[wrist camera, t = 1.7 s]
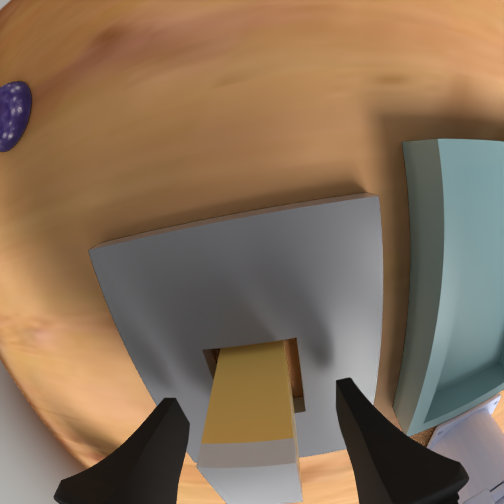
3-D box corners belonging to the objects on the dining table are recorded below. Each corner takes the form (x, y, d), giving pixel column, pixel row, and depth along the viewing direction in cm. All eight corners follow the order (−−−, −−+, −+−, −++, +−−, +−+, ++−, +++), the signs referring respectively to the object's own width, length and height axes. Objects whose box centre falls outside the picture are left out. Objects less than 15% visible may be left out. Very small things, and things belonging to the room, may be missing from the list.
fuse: (291, 390, 14) (302, 501, 7) (238, 397, 14) (228, 505, 8) (282, 334, 13) (295, 462, 6) (221, 343, 13) (196, 467, 6)
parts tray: (496, 362, 14) (513, 382, 11) (392, 407, 15) (405, 437, 12) (523, 145, 9) (555, 148, 6) (401, 141, 10) (437, 138, 7)
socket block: (362, 431, 15) (366, 443, 14) (197, 450, 16) (194, 462, 15) (367, 192, 11) (378, 195, 10) (101, 242, 12) (88, 250, 11)
